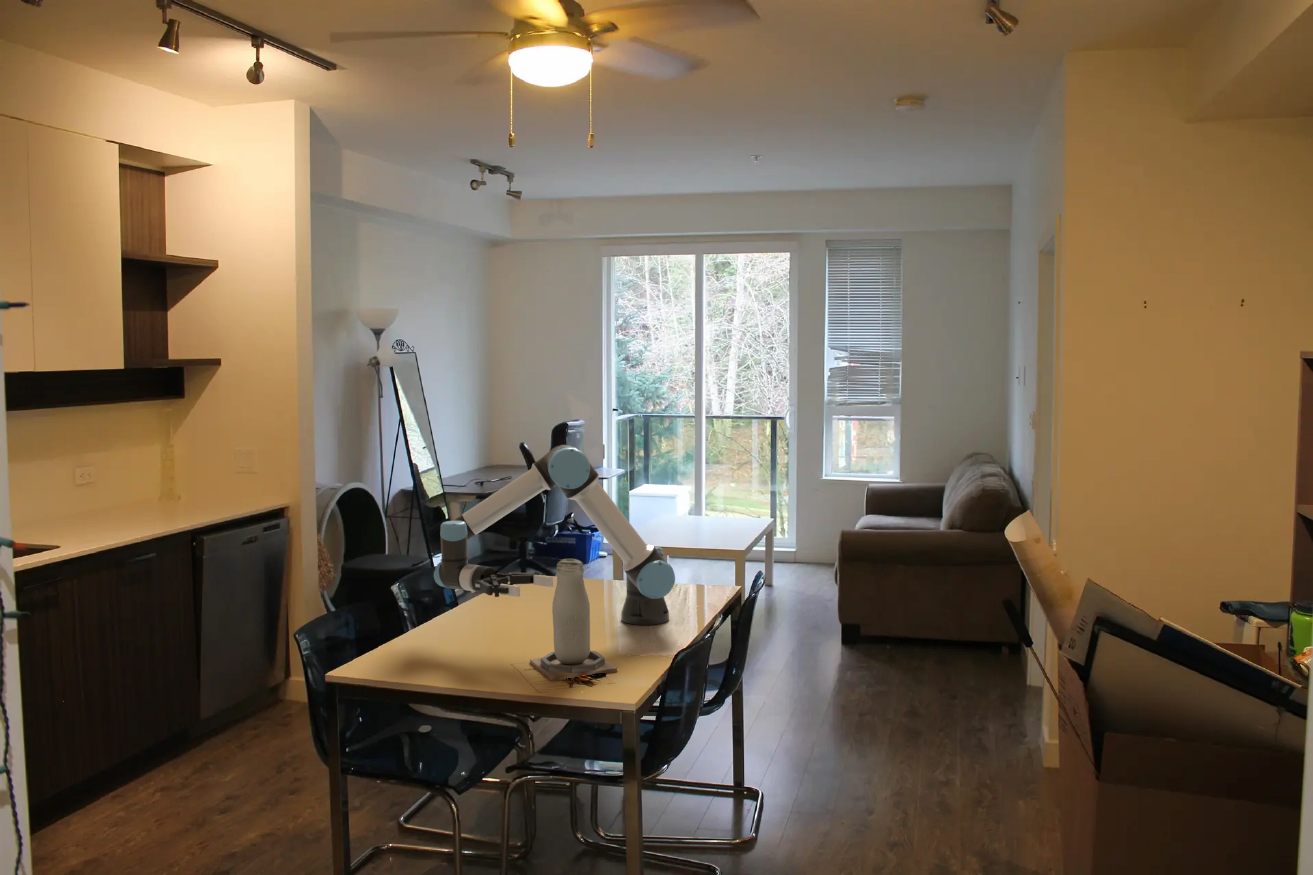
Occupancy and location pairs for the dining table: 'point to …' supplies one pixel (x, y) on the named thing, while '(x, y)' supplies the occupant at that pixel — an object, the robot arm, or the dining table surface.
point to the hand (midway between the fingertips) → (536, 586)
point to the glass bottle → (571, 614)
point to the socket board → (572, 666)
